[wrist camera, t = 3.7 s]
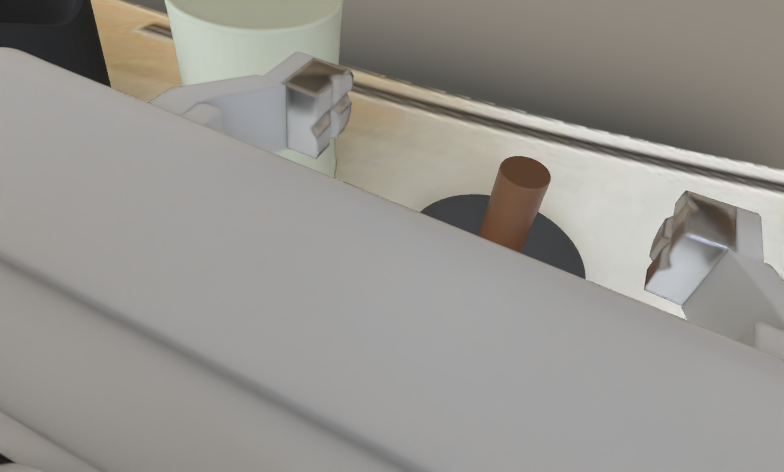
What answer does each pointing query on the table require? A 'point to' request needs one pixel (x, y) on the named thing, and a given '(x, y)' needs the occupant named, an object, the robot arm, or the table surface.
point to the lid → (513, 215)
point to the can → (254, 43)
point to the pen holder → (55, 34)
